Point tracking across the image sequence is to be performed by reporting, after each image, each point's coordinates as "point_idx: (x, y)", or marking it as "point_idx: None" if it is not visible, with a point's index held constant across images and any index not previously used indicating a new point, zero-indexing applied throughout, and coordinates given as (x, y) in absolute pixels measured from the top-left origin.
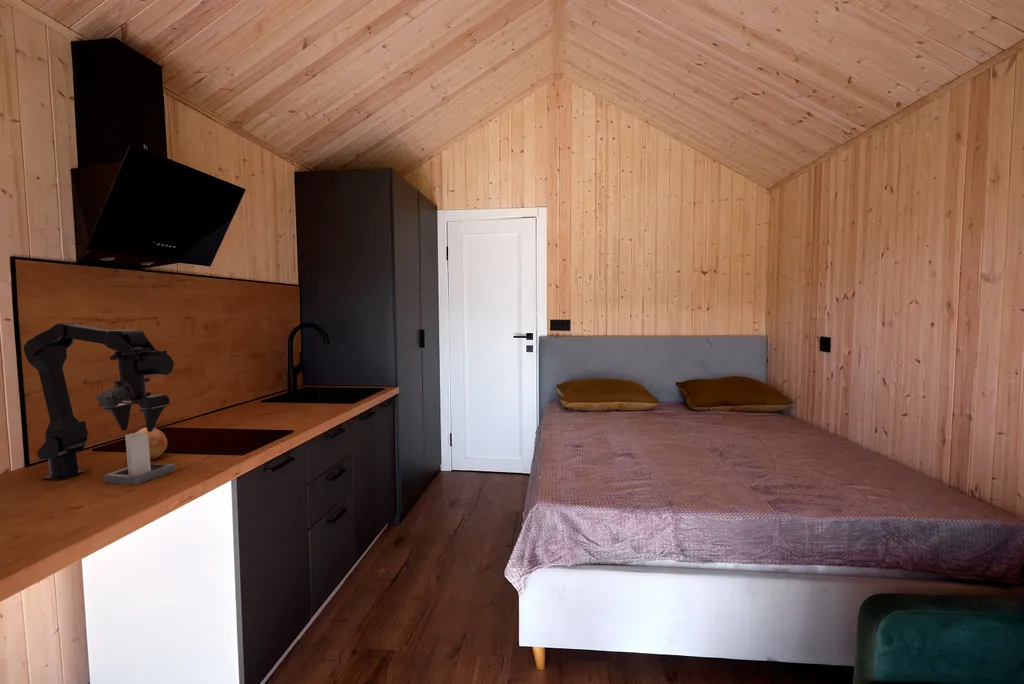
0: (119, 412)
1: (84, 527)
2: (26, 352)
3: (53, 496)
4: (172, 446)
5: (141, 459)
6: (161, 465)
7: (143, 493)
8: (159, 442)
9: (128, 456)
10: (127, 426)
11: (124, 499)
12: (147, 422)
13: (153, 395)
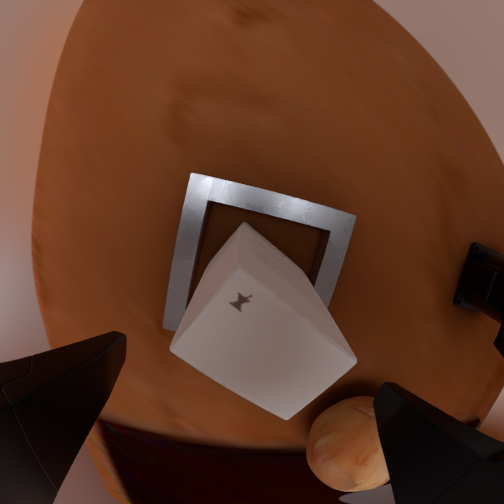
0: (465, 480)
1: None
2: None
3: (399, 104)
4: None
5: (216, 261)
6: None
7: (121, 110)
8: (313, 450)
9: (295, 278)
10: (376, 421)
11: (146, 66)
12: (52, 356)
13: None
